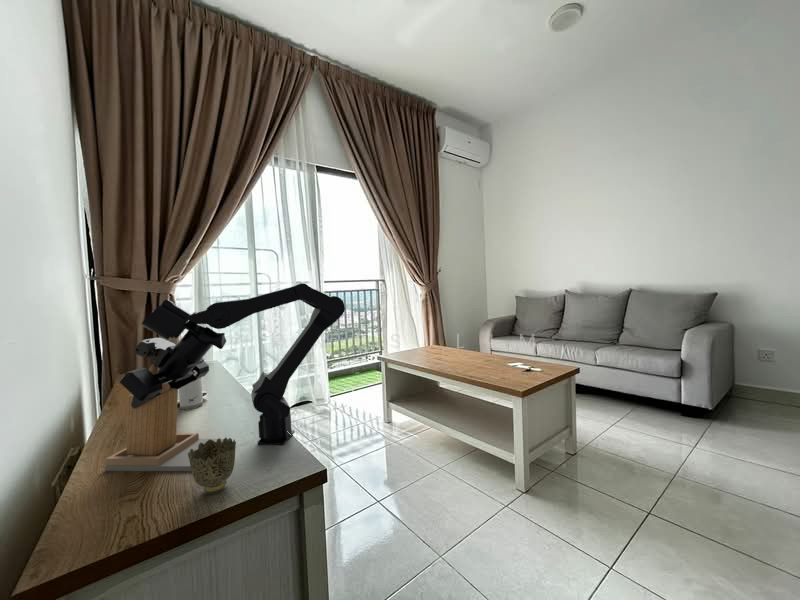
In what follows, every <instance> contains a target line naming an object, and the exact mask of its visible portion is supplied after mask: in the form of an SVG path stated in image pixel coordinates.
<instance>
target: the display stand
mask: <svg viewBox="0 0 800 600" xmlns="http://www.w3.org/2000/svg"><path fill="white" fill-rule="evenodd" d="M199 437H200V436H199V432H180V433H178V432H177V433H176V443H175V444H174V445H173V446H171V447H170V448H168V449H166V450H165V451H163V452H162V453H160V454H158V455H157V456H153V457H145V456H136V455H128V454H127V447H124V448H123V449H121V450H119V451H117V452H116V453H114V454H112V455H109V456H108V457H106V458H105V461H106V462H105V463H106V464H105V465H104V471H105V472H192V470H191V466H190V461H189V456H188V453H189V452H190V449H193V450H194V451H195V450H198V445H199V443H203V444H205V443H206V442H207V441H208V440H209V439H210V440H213V441H214V442H217V439H218V438H199ZM220 439H221V441H223V440H224V439H225V438H220ZM227 439H228V440H229V438H227ZM231 440H232V441H233V438H231Z"/></svg>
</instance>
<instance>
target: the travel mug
mask: <svg viewBox="0 0 800 600" xmlns="http://www.w3.org/2000/svg"><path fill="white" fill-rule="evenodd" d="M194 372H195V373H194V374H193V375H194V376H196V374H197V372H196V371H194ZM202 378H203V377H201V378H198V379H197V380H196V381H193V382H191V383H189V384H187V385H185V386H183V387H182V388H180V389H178V400H179V409H180V410H182V409H189V410H193V409H192V408H194V409H197V408H200V407H202V406H203V405H204V397H203V381H202ZM201 405H202V406H201ZM199 406H200V407H199Z"/></svg>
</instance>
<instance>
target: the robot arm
mask: <svg viewBox="0 0 800 600" xmlns="http://www.w3.org/2000/svg"><path fill="white" fill-rule="evenodd" d="M297 301H301V302H303V303H305V304H306V305H308V306H310V307H311V308H313V310H312V313H311V315H310V319H309V322H308V324H307V325H306V326H305V328H304V329H303V330H302V332H301V333H300V334H299V336H298V337H297V338H296V340H295V341H294V342H293V343H292V345H291V346H290V348H289V349H288V350H287V352H286V353H285V355H284V356H283V357H282V358H281V360H280V361H279V363H278V364H277V366H276V367H275V368H274V369H273V370H272V371H271V372H269V373H268V374H267V373H266V372H265V371H262V372H261V373H260V376H259V378H258V379H257V381H256V382H255V383H253V384H252V385H251V386H252V390H251V393H250V395H251V400H252V405H253V408H254V409H255V410H256V411H257V412H258V413H260V415H259V421H258V423H257V424H258V438H259V440H258V441H257V445H285V444H286V443H287V441H288V440H289V439H290V438H291V437H292V436H293V435H294V434H295V430H294V429H292V418H291V406H290V405H289V403H288V402H287V400H286V398H285V397H284V395H285V393H286V390H287V386H288V384H289V381H290V378H292V376H293V375H294V374H295V372H296V371H297V369H298V368H299V366H300V365H301V364H302V362H303V361H304V359H305V358H306V356H307V355H308V354H309V352H310V351H311V350H312V348H313V347H314V345H315V343H317V342H318V340H319V338H320V337H321V336H322V334H323V333H324V332H325V330H327V329H328V328H330V327H331V326H333V325H334V324H335V323H336V322H337V321H338V320H339V319H340V318H341V317H342V316H343V315H344V312H345V310H346V307H345V303H344V300H343V299H341V297H338V296H335V295H328V294H326V293H324V292H321V291H319V290H317V289H315V288H313V287H311V286H309V285H308V284H306V283H303V282H302V283H301V282H300V283H296V284H294V285H292V286H289V287H286V288H281V289H278V290H274V291H271V292H268V293H264V294H260V295H257V296H253V297H250V298H245V299H244V298H243V299H235V300H234V299H233V300H227V301H218V302H214V303H212V304H210V305H209V306H207V308H206V309H205V310H202V311H199V312H197V311H194V312H193V313H189V312H188V311H186V310H184V309H183V308H181V307H180V306H178V305H177V304H175V302H173V301H171V300H170V299H164V300H163V301H162V302H161V304H159V305H158V306H157V307H156V308H155V309H154V310H153V311H150V312H149V314H148V315H146V317H145V318H144V320H143V321H142V322H141V324H140V325H141V326H142V327H143V328H146V329H147V330H150V331H151V332H153V333H155V334H156V335H158V336H160V337H154V338H152V337H151V338H148V339H147V338H146V339H143V340H141V341H139V342H138V344H137V345H135V347H134V348H135V349H134V353H135V355H137V356H140V357H142V358H145V359H146V358H148V359H150V360H152V361H153V362H152V364H153V365H154V366H155V367H156V368H157V367H158V368H159V370H158V372H159V373H158V374H155V375H154V374H152V373H151V372H150V371H149V368H147V367H142V368H137V369H134V370H131V371H130V370H129V371H127V372H126V371H125V373H123V375H122V377H121V378H120V379H119V383H120V384H121V385H122V386H123V387H124V388H125V390H127V391H128V392H129V393H130V394H133V395H134V396H133V400H132V403H131V406H132V407H133V408H134V409H136V408H138V407H139V406H141V405H143V404H145V403H147V402H148V401H150V400H152V399H154V398H156V397H157V396H159V395H161V393H159V392H160V391H161V390H162V389H163V388H162V384H165V383H167V382H168V384H169V385H170V388H175V389H177V390H178V391H179V389H180V388H182V387H183V386H185V385H187V384H189V383H191V382H193V381H196V380H197V379H198V378H203V377H205V376H206V375H207V374H208V372H210V366H209V365H210V364H208V363H207V362H206V361H205V358H204V356H205V355H206V354H207V353H208V352H209V350H211V348H212V347H213V346H214V347H216V348H217V349H219V350H222V349H224V347H225V345H226V343H227V339H226V336H225V335H226V333H225V332H217V331H215V330H213V329H217V330H222V329H226V328H228V327H230V326H231V325H234V324H236V323H238V322H240V321H242V320H244V319H245V318H248V317H249V316H251V315H253V314H257V313H261V312H264V311H267V310H270V309H271V310H272V309H273V308H276V307H279V306H284V305H287V304H290V303H293V302H297ZM202 325H208V326H209V327H208V326H206V327H204V326H202ZM210 327H211V328H210ZM212 328H213V329H212ZM185 330H187V331H186V333H185V334H184V336H182V338H181V339H180V340H179V341H178V342H177V344H175V343H174V342H171V341H169V340H170V338H171V339H174V338H175V339H178V338H179V337H180V335H182V334H183V332H184V331H185ZM152 364H151V365H152ZM194 371H196V372H197V374H196V376H194V375H193V374H194V373H195V372H194ZM287 431H288V432H289V433H290V434H291V435H292V436H291V435H290V434H289V433H288V432H287Z"/></svg>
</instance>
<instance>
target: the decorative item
mask: <svg viewBox="0 0 800 600" xmlns="http://www.w3.org/2000/svg"><path fill="white" fill-rule="evenodd" d="M159 369H160V368H158V367H157V368H156V367H155V366H154V365H153V364H151V365H150V367H149V368H148V370H149V371H150V372H151V373H152V374H154V375H155V374H158V373H159V372H158V370H159ZM162 388H163V389H162V390H161V391H160V392H159V393H161V395H159V396H157V397H156V398H154V399H152V400H150V401H148V402H147V403H145V404H143V405H141V406H139V407H138V408H136V409H134V408H133V407H132V406H131V403H132V400H133V396H134V395H133V394H131V393H130V394H129V395H128V396H127V412H126V413H127V415H126V417H127V418H126V420H127V421H126V448H127V454H128V455H136V456H145V457H153V456H157V455H158V454H160V453H162V452H163V451H165V450H166V449H168V448H170V447H171V446H173V445H174V444H175V443H176V433H178V432H177V431H178V430H177V427H178V425H177V423H178V400H179V389H178V390H177V389H175V388H170V385H169V384H168V382H167V383H165V384H162Z"/></svg>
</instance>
